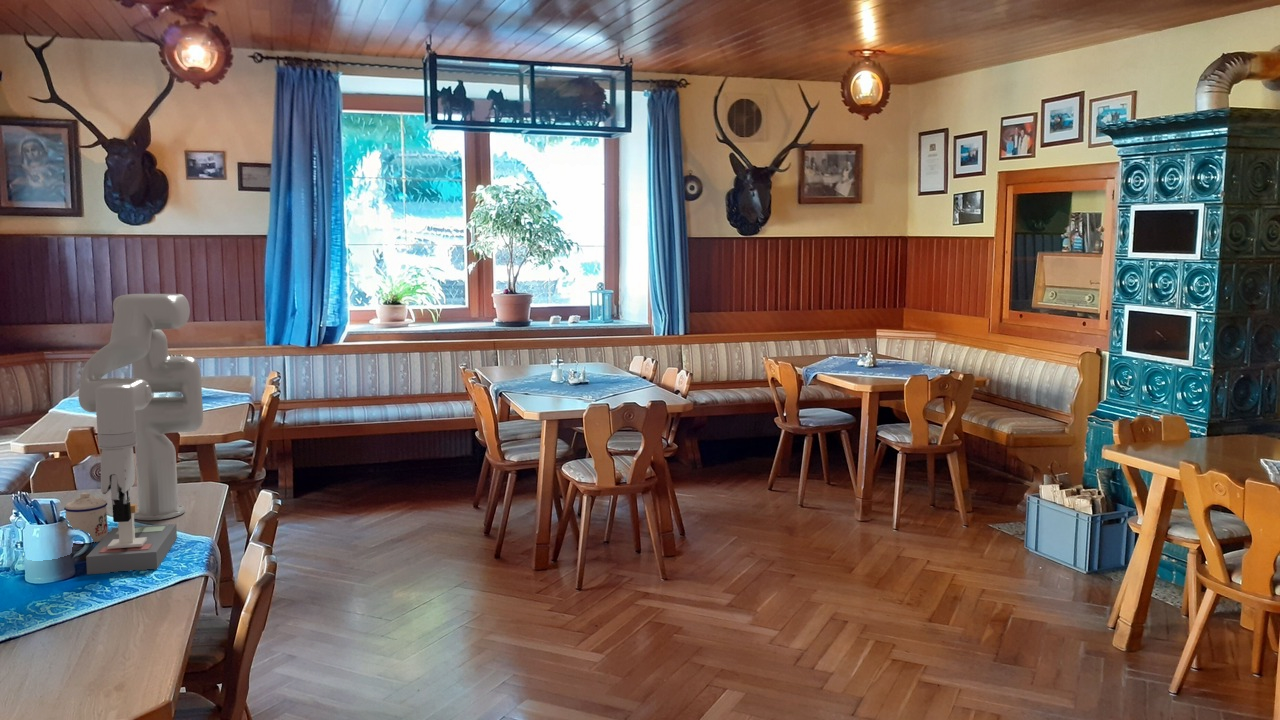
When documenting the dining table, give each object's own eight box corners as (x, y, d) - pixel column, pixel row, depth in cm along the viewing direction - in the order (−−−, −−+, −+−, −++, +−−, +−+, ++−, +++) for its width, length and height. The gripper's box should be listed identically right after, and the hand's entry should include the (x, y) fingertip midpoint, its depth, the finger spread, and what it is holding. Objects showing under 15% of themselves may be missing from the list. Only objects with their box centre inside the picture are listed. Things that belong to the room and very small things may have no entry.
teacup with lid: (104, 543, 229) (101, 496, 228) (61, 546, 227) (58, 499, 225) (116, 529, 241) (113, 484, 239) (75, 532, 238) (72, 486, 237)
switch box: (113, 544, 229) (112, 527, 228) (177, 539, 233) (176, 523, 232) (87, 574, 208) (85, 556, 207) (157, 569, 212) (156, 551, 211)
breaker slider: (113, 542, 216) (110, 503, 215) (147, 539, 218) (144, 501, 217) (107, 548, 211) (104, 509, 210) (141, 546, 213) (139, 507, 212)
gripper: (107, 434, 215) (112, 512, 217) (88, 447, 200) (93, 532, 202) (144, 432, 217) (148, 510, 219) (127, 446, 202) (132, 529, 204)
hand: (122, 520), depth 211 cm, fingers closed
